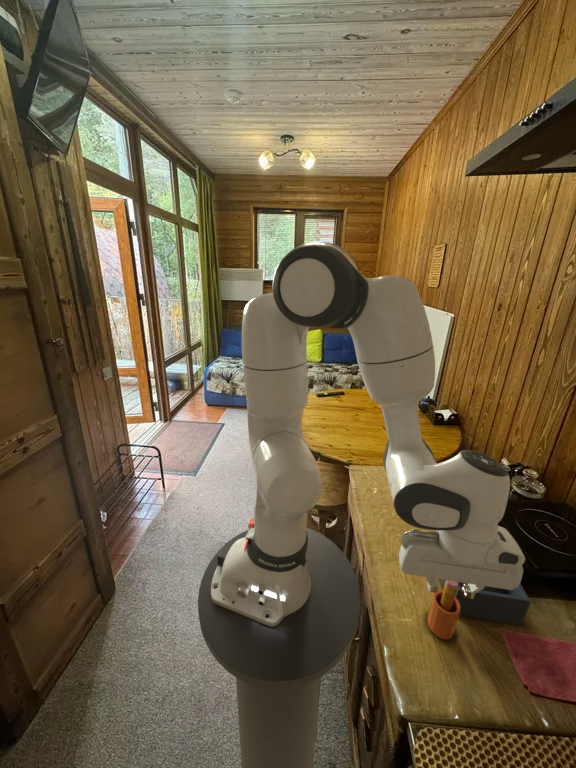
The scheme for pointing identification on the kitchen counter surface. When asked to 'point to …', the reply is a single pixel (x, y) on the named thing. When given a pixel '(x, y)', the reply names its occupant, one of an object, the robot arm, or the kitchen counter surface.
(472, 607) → the bin
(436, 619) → the pen cup
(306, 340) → the robot arm
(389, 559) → the kitchen counter surface
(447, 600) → the pencil
